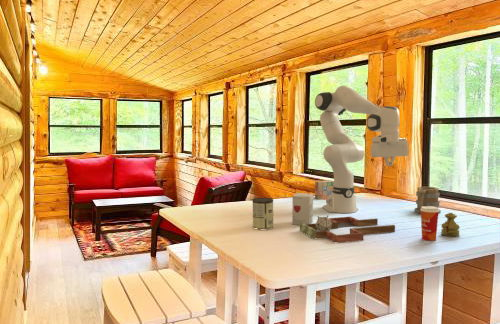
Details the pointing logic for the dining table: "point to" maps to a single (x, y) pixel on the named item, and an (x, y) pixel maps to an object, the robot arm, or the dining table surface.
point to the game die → (323, 224)
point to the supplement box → (302, 209)
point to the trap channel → (339, 222)
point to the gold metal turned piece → (450, 226)
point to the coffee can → (263, 213)
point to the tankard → (427, 198)
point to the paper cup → (429, 222)
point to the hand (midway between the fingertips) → (389, 165)
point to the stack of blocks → (323, 189)
